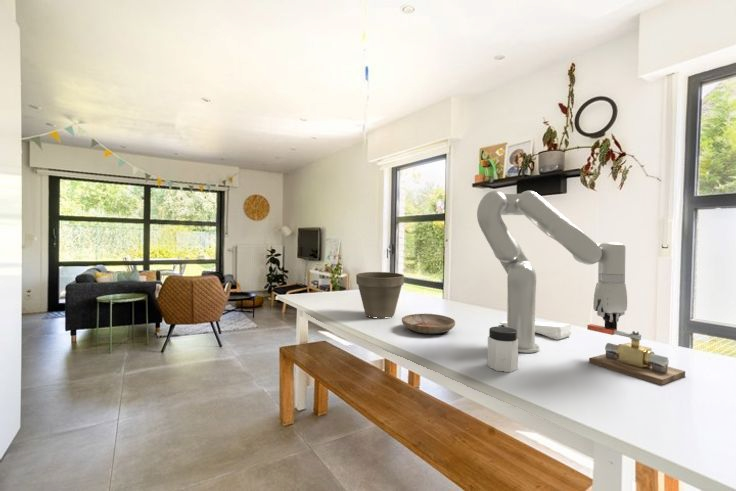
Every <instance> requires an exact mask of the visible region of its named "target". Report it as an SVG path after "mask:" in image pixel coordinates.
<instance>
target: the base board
mask: <svg viewBox="0 0 736 491" xmlns="http://www.w3.org/2000/svg"><path fill="white" fill-rule="evenodd" d="M588 363H590V364H593V365H595V366H598V367H602V368H605V369H609V370H613V371H615V372H618V373H622V374H625V375H629V376H632V377H634V378H637V379H640V380H641V379H642V380H644V381H647V382H651V383H655V384H657V385H661V386H663V385H665V384H668V383H671V382H674V381H675V380H679V379H681V378H684V377H686V371H685V370H682V369H678V368H674V367H671V366H668V369H667V372H665V373H662V374H661V373H657V372H654V371H652V366H646V367H643V368H641V367H638V366H634V365H631V364H627V363H624V362H620V361H619V359H615V360H612V359H608V358H606V353H604V354H600V355H596V356H592V357H589V359H588Z"/></svg>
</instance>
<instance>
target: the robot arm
mask: <svg viewBox="0 0 736 491" xmlns="http://www.w3.org/2000/svg"><path fill="white" fill-rule="evenodd" d="M502 216H525V217H526V219H527V220H529V221H530V222H531V223H532V224H534V225H535V227H537V228H538V229H539V230H540V231H541V232H542V233H544V234H545V235H546V236H547V237H549V238H551V239H552V240H554V241H555V242H557V243H558V244H560V245H561V246H562V247H563V248H565V249H566V250H567V251H568V252H569V253H570V254H572V255H571V256H572V257H573V259H574V260H575V261H577V262H578V263H581V264H582V265H583V264H584V265H594V264H598V265H597V266H598V268H597V269H598V270H597V273H598V276H597V282H596V283H595V288H594V294H593V311H594V312H596V315H597V316H598V317H601V318H602V320H603V321H604V327H608V328H613V329H617V330H618V322H619V320H620V317H621V316H624V315H625V314H626V313H625V312H626V311H627V310H628V292H627V285H626V245H625V244H624V243H621V242H602V243H597V242H595V241H594V240H593V239H592V238H591V237H590V236H588V235H587V233H585V232H583V231H582V230H581V229H580V228H578V227H577V225H575V224H573V223H572V222H571V221H570V220H569V219H568V218H567V217H566V216H565V215H563V214H562V213H561V212H559V211H558V210H557V209H556V208H555V207H554V206H553V205H551V204H550V203H549V202H548V201H547V200H545V199H544V198H543V196H541V195H540V194H538V193H537V192H536V191H534V190H525V191H523V192H521V193H503V192H501V191H500V190H490V191H488V192H487V193H486V194H484V195H483V197H482V198H481V200H480V202H479V203H478V206H477V209H476V218H477V222H478V225H479V229H481V232H482V233H483V235H484V237H485V239H486V241H487V243H488V244H489V246H490V248H491V250H492V253H493V254H494V257H495V258H496V259H497V260H498V261H499V263H500V264H501V266H502V267H503V269H504V271H505V273H506V274H507V277H506V278H507V279H506V280H507V281H506V282H507V286H506V287H507V288H506V289H507V291H506V292H507V293H506V294H507V296H506V297H507V298H506V299H507V300H506V301H507V302H506V305H507V306H506V308H507V309H506V311H507V314H506V319H507V320H506V321H507V327H508V328H512V329H515V330H516V331H517V339H518V353H525V354H528V353H529V354H531V353H537V352H539V351H540V346H539V344H537V343H536V341H535V340H536V332H535V322H536V291H537V273H536V270H535V268H534V266H532V264H531V263H530V261H529V259H528V257H527V256H526V254H525V252H524V251H523V249H522V247H521V246H520V244H519V243H518V241H517V240H516V239H515V238H514V237H513V236H512V235H513V234H512V233H511V232H510V230H509V229H508V227H507V225H506V223H505V222H504V219H503V217H502Z"/></svg>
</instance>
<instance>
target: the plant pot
mask: <svg viewBox="0 0 736 491" xmlns="http://www.w3.org/2000/svg"><path fill="white" fill-rule="evenodd" d="M355 276H356V278H355V279H356V284H357V285H358V290H359V295H360V298H361V303H362V307H363V309H364V310H363V311H364V314H365V316H366V315H367V316H370V317H377V318H385V317H391V316H393V317H394V315H395V313H396V309H397V305H398V302H399V298H400V294H401V290H402V286H403V285H404V282H405V275H404V274H403V273H399V272H391V271H390V272H388V271H367V272H359V273H356V274H355ZM367 316H366V317H367ZM391 318H392V317H391Z"/></svg>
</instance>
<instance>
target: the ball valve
mask: <svg viewBox="0 0 736 491" xmlns="http://www.w3.org/2000/svg"><path fill="white" fill-rule="evenodd" d="M630 342H631V343H630ZM630 342H625V343H620V344H614V343H610V342H607V343H606V344H605V347H604V348H605V349H604V350H605V354H606V358H608V359H612V360H615V359H619V361H620V362H624V363H627V364H631V365H634V366H638V367H641V368H643V367H646V366H652V371H654V372H657V373H661V374H662V373H665V372H667V369H668V367H669V358H668V357H666V356H663V355H659V354H655V352H654V351H652V350H653V349H652V347H648V346H643V345H640V340H633V339H630Z"/></svg>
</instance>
